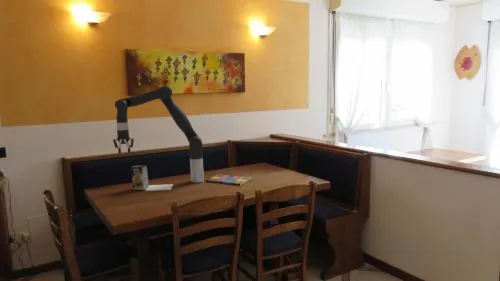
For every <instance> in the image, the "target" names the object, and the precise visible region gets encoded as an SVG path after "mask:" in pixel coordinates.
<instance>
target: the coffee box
mask: <svg viewBox="0 0 500 281" xmlns="http://www.w3.org/2000/svg"><path fill="white" fill-rule="evenodd" d="M147 166H148V165H145V164H144V165H140V164H138V165H132V166H131V167H130V173H131V184H132V189H133V190H136V191H140V190H141V191H146V189H147V188H149V177H148V168H147Z"/></svg>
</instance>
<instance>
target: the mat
mask: <svg viewBox="0 0 500 281" xmlns="http://www.w3.org/2000/svg"><path fill="white" fill-rule="evenodd" d="M173 186H174V184H173V183H171V184H152V185H151V184H150V185H149V188H147V189H145V192H151V191H154V192H155V191H171V190H172V188H173Z"/></svg>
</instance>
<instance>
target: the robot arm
mask: <svg viewBox="0 0 500 281" xmlns="http://www.w3.org/2000/svg"><path fill="white" fill-rule="evenodd" d="M172 95H173V89H172V88H171V86H169V85H162V86H160V87H158V88H156V89H154V90H150V91H148V92H144V93H138V94H135V95H132V96H129V97H124V98H119V99H117V100H115V102H114V107H115V109H116V134H117V136H116V137H117V138H114V139H112V142H113V144H114V148H116V149H117V151H118V154H119V155H122V149H121V147H122V145H126V147H127V154H128V155H129V154H130V153H131V148H133V147H134V143H135V142H134V140H135V138H132V137H130V133H129V132H130V130H129V122H128V109H129V108H130V107H132V108H133V107H138V106H140V105H144V104H146V103H149V102H152V101H155V100H160V102H162V103H163V105H164V106H165V108H166V110H167V111H168V113H169V115H170V117H171V118H172V120H173V121H174V123H175V125H176V126H177V127H178V128H179V130H180V131H181V132H182V133H183V134H184V135H185V137H186V139H187V141H188V146H189V163H190V166H189V168H190V182H191V183H195V184H196V183H203V182H204V180H205V177H204V175H205V174H204V159H203V158H204V157H203V155H204V154H203V142H202V138H201V137H200V136H199V135H198V134H197V132H196V131H195V130H194V128H193V126H192V124H191V121H190V120H189V118H188V116H187V115H186V113H185V111H183V109H182V108H181V107H180V106H179V105H178V104H177V103H176V102H175V101H174V99H173V97H172ZM129 141H130V143H129ZM117 142H118V143H117Z"/></svg>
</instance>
